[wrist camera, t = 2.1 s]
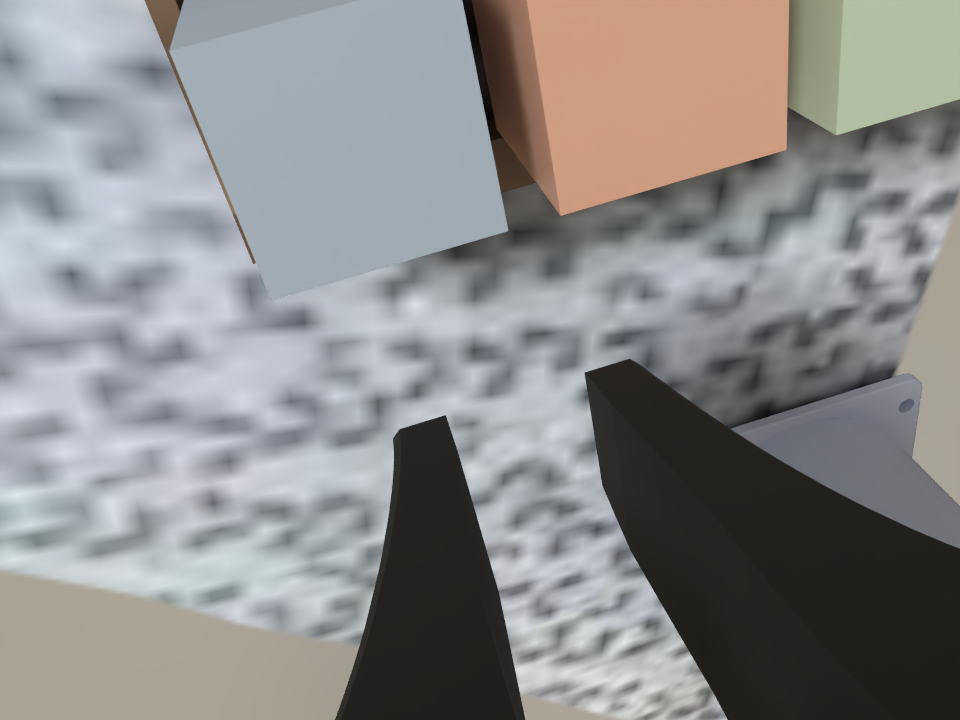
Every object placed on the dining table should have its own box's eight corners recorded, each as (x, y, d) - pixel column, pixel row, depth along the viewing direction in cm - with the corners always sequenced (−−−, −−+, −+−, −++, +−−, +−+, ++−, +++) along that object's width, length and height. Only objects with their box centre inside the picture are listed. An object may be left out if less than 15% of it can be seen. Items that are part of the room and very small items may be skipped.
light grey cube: (454, 140, 17) (508, 231, 14) (265, 194, 17) (271, 300, 14) (407, -70, 15) (457, -27, 12) (187, -13, 15) (169, 50, 11)
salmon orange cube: (678, 77, 18) (786, 149, 14) (496, 129, 18) (560, 215, 14) (665, -139, 15) (791, -117, 12) (455, -83, 15) (520, -44, 12)
